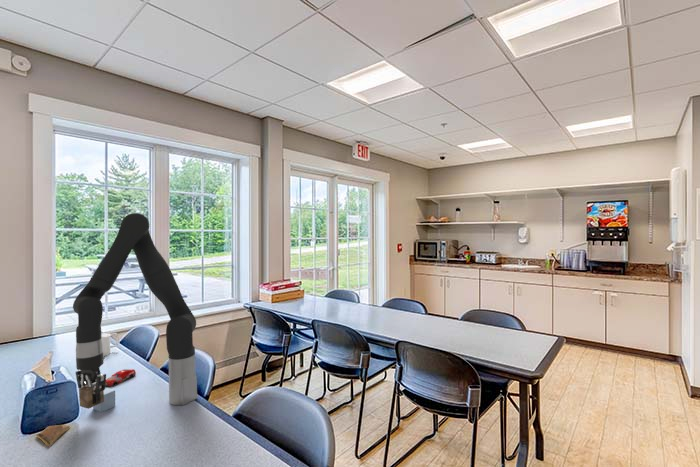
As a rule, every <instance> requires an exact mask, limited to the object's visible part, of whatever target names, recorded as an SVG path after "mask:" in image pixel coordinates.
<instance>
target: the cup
mask: <svg viewBox="0 0 700 467" xmlns="http://www.w3.org/2000/svg"><path fill="white" fill-rule="evenodd" d="M101 336H102V343H103V357H105V356H108V355H110V354H111V349H112V348H117V347H118V343H119V335H118V333H116V332H115V333H114V332H113V333H101ZM112 336H115V338H116V342H115V344H114V345H113V344H111V337H112Z"/></svg>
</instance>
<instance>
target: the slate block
mask: <svg viewBox="0 0 700 467" xmlns="http://www.w3.org/2000/svg"><path fill="white" fill-rule="evenodd" d="M115 407H116V390H115V389H112V388H110V387H105V390H104V402H103V403H100V404H98V405H96V406H94V407H92V409H93V410H95V411H96V412H99V413H102V412H105V411H107V410H109V409H112V408H115Z"/></svg>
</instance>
